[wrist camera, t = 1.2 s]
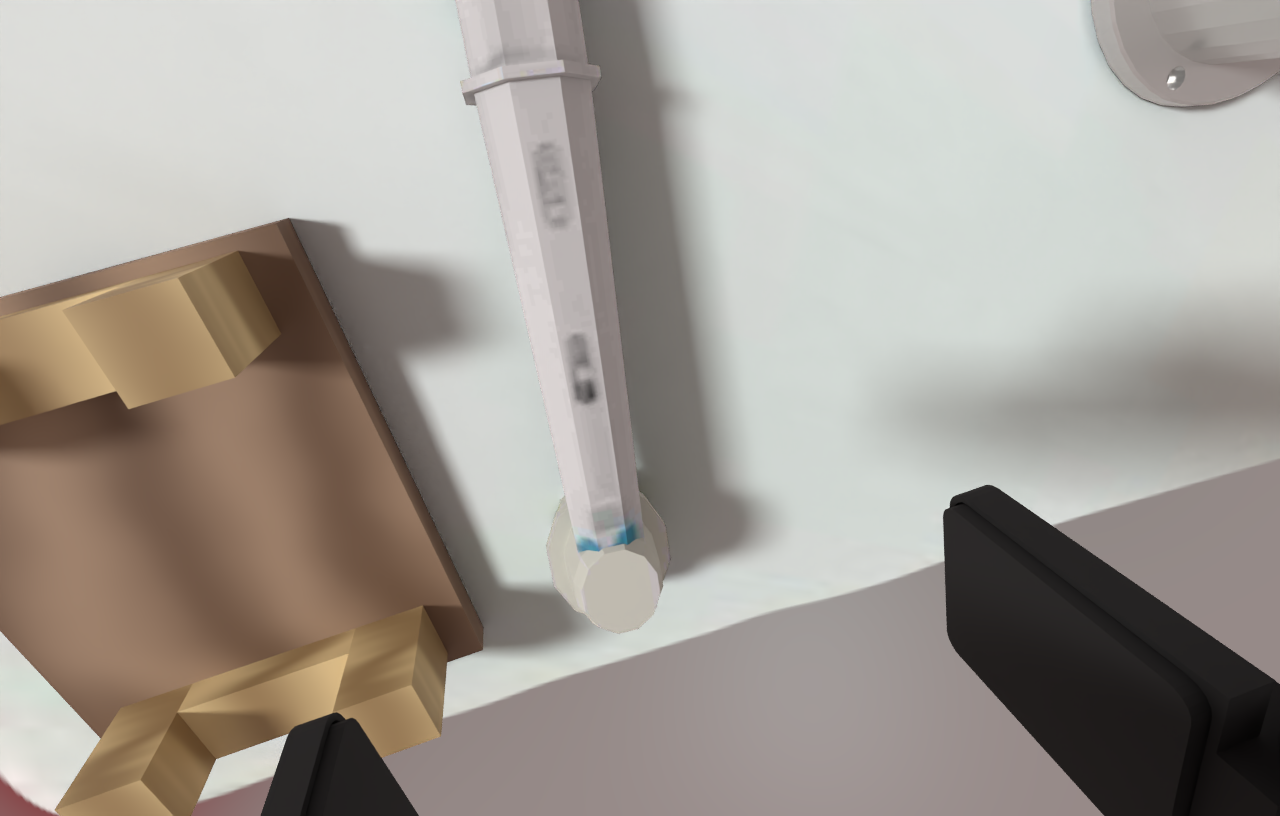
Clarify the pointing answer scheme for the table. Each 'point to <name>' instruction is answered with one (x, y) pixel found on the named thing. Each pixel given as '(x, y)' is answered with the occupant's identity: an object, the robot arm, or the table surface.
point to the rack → (211, 521)
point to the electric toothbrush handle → (567, 295)
